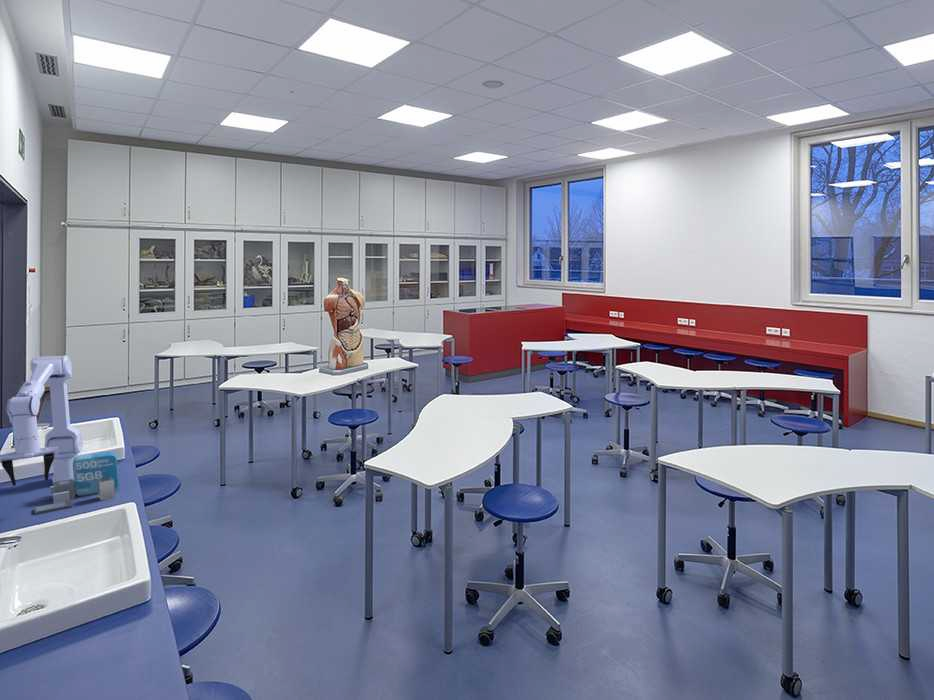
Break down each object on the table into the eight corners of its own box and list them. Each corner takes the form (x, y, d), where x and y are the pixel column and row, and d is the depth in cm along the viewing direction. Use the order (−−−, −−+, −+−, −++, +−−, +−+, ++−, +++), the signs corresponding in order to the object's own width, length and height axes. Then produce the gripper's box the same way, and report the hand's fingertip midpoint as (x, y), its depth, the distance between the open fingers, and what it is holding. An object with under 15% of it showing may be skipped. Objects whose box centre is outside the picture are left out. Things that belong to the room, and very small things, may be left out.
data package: (75, 496, 188) (72, 460, 187) (75, 492, 192) (72, 456, 190) (118, 489, 194) (116, 454, 193) (118, 485, 198) (115, 450, 197)
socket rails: (51, 495, 189) (50, 486, 189) (66, 492, 192) (65, 483, 191) (53, 504, 182) (53, 494, 182) (69, 501, 184) (69, 491, 184)
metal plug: (98, 497, 188) (96, 478, 187) (112, 494, 190) (111, 475, 189) (100, 501, 185) (98, 481, 184) (115, 498, 187) (113, 479, 186)
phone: (34, 511, 178) (34, 507, 178) (70, 504, 183) (70, 500, 183) (35, 516, 174) (34, 512, 174) (71, 509, 180) (71, 505, 179)
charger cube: (55, 497, 188) (53, 481, 187) (74, 493, 191) (72, 478, 190) (56, 502, 184) (54, 486, 183) (75, 498, 187) (74, 482, 186)
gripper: (-6, 444, 165) (-1, 491, 167) (57, 435, 174) (61, 480, 176) (-6, 439, 171) (-1, 484, 172) (55, 430, 180) (59, 474, 181)
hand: (30, 481), depth 175 cm, fingers open, 7 cm apart
